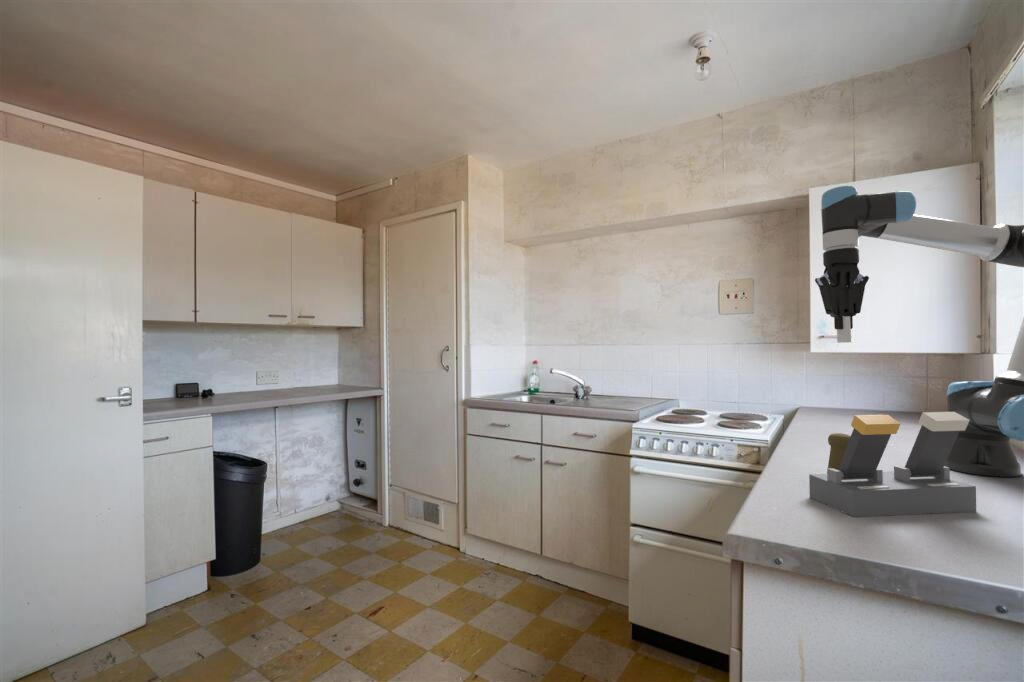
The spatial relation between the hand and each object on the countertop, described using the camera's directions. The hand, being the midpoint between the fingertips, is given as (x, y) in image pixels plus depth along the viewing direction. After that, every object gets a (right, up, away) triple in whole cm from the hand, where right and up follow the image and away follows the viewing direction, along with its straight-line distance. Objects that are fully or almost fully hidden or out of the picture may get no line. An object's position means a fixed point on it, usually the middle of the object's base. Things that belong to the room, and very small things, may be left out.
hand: (844, 342), depth 120 cm
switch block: (-6, -34, -21) cm, 40 cm away
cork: (-2, -34, -2) cm, 34 cm away
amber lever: (-13, -27, -22) cm, 37 cm away
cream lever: (+2, -27, -21) cm, 34 cm away
